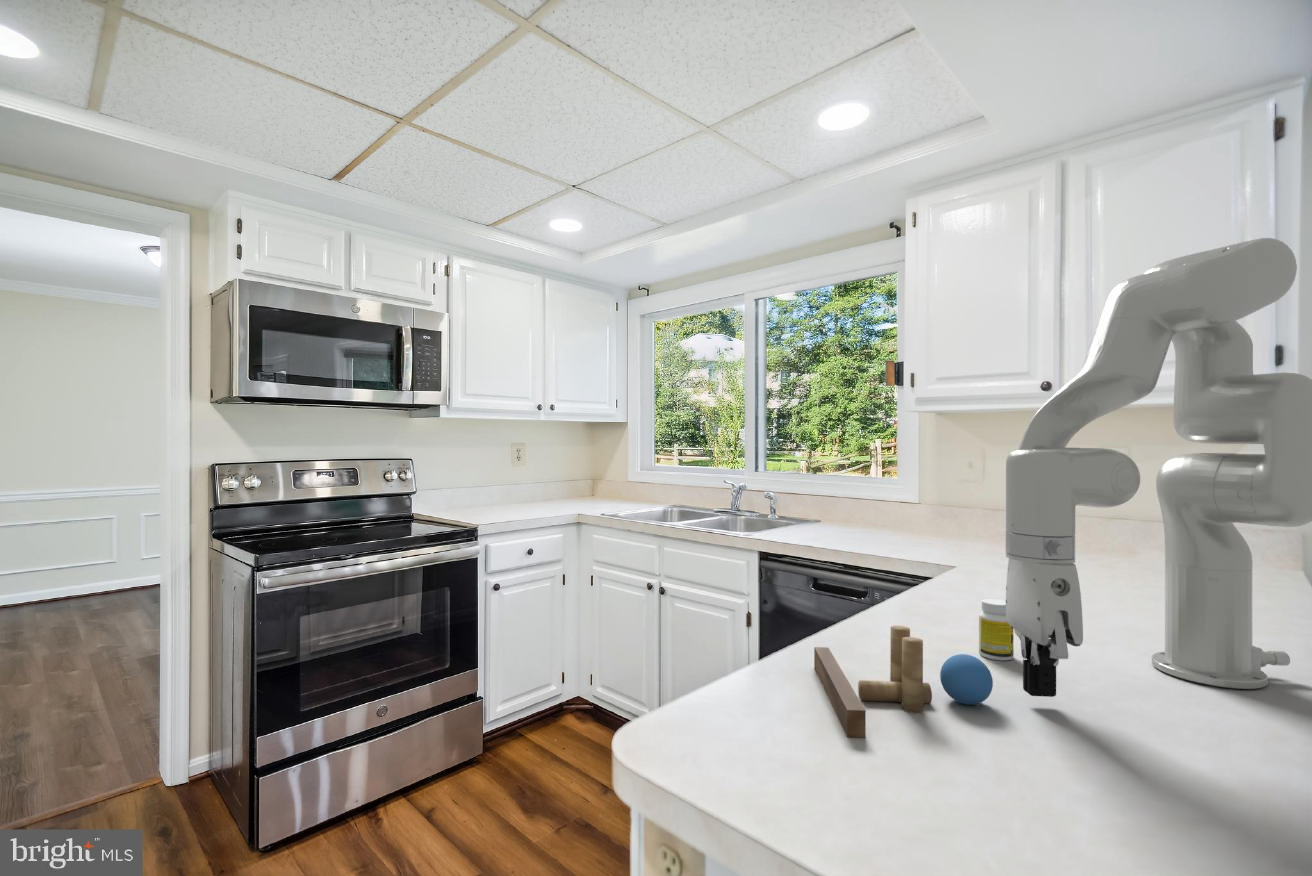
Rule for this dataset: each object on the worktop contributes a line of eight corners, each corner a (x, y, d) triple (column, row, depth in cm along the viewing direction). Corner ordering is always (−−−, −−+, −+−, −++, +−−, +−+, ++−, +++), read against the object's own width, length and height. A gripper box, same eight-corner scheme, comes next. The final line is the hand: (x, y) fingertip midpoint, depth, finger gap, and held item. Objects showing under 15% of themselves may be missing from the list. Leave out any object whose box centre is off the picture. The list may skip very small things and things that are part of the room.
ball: (925, 660, 84) (946, 701, 84) (941, 676, 78) (965, 721, 78) (966, 640, 84) (988, 681, 83) (986, 655, 78) (1010, 699, 77)
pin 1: (906, 689, 85) (906, 625, 85) (912, 696, 83) (912, 631, 83) (888, 689, 85) (888, 625, 85) (893, 696, 83) (893, 630, 83)
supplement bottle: (1018, 662, 96) (1018, 606, 96) (984, 660, 97) (984, 604, 97) (1007, 652, 101) (1007, 598, 101) (975, 650, 102) (975, 597, 102)
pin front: (925, 679, 82) (858, 677, 83) (932, 687, 80) (862, 684, 81) (925, 698, 82) (858, 695, 83) (931, 706, 80) (862, 703, 81)
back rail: (828, 668, 93) (828, 647, 93) (865, 737, 71) (865, 710, 71) (814, 667, 93) (814, 647, 93) (847, 736, 71) (847, 709, 71)
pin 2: (919, 705, 80) (919, 637, 80) (925, 713, 78) (925, 643, 78) (899, 704, 80) (899, 636, 80) (905, 712, 78) (905, 642, 78)
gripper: (1108, 559, 72) (1108, 721, 72) (1039, 539, 87) (1039, 673, 87) (1039, 557, 73) (1039, 718, 73) (983, 538, 88) (982, 671, 88)
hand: (1039, 693), depth 80 cm, fingers closed
